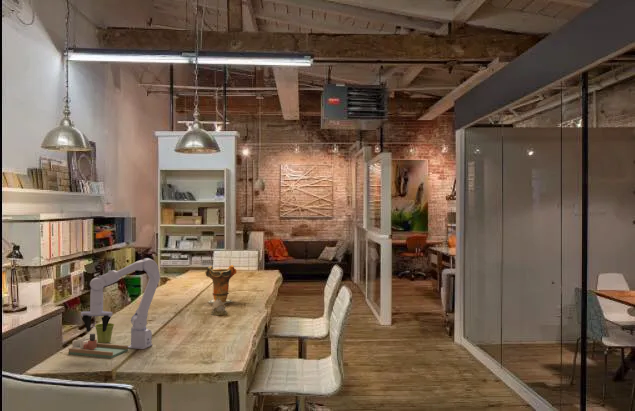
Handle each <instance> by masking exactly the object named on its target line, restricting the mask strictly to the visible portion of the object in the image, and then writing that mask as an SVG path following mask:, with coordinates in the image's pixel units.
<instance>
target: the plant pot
mask: <svg viewBox="0 0 635 411" xmlns="http://www.w3.org/2000/svg"><path fill="white" fill-rule="evenodd" d="M114 326H115V324H114V323H110V322H108V325H107V328H106V331H105V332H103V324H102V323H97V324H95V325H94V328H95V330H96V336H97V337H96V338H97V339H96V340H97V343H103V344H109V343H110V342H111V341H112V335H113V329H114Z"/></svg>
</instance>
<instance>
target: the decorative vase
mask: <svg viewBox="0 0 635 411" xmlns="http://www.w3.org/2000/svg"><path fill="white" fill-rule="evenodd" d="M212 267H213V266H212V265H210V266H208V267H207V270H206V271H205V276H206V277H207V278H210V279H211V280H212V283H213V284H212V286H213V287H212V288H213V290H212V291H213V293H212V296H213V299H211V300H208V303H211V304H213V303H214V302H215V301H216V300H217V299H218V298H220V300H221V301H222V303H223V304H224V305H225V304H229V303H233V300H232V299H228V295H229V297H230V296H231V295H230V292H229V289H230V288H229V283H230V280H231V278H233V277H234V276H235V274H237V268H235V266H234V265H233V264H231V265H229V266H228V268H212Z"/></svg>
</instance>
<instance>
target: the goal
mask: <svg viewBox="0 0 635 411" xmlns="http://www.w3.org/2000/svg"><path fill="white" fill-rule="evenodd" d="M89 340H90V337H87V338H86V336H84V337H81V338H78V339H74V340H72V348H74V349H82V344H83V341H89ZM80 343H81V346H80Z"/></svg>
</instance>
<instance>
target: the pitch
mask: <svg viewBox="0 0 635 411" xmlns="http://www.w3.org/2000/svg"><path fill="white" fill-rule="evenodd" d="M128 346H129V345H125V344H114V343H113V344H112V343H111V344H110V343H98V342H97V348H95V349H93V350H90V349H86V350H85V349H74V348H71V347H70V348H68V355H76V356H85V357H86V356H87V357H95V358H96V357H99V358H109V359H113V358H115V357H117V356H119V355H122V354H125V353H126V352H128V351H129V348H128Z"/></svg>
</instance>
